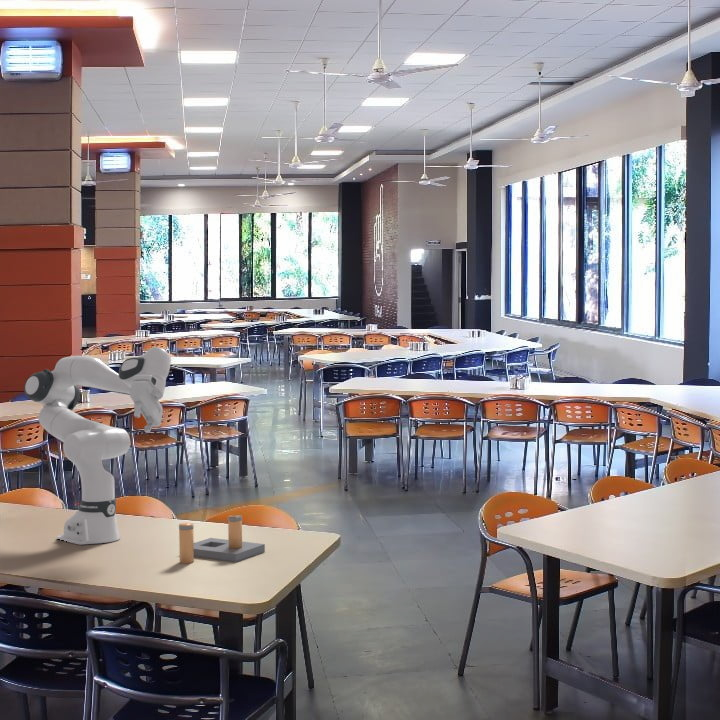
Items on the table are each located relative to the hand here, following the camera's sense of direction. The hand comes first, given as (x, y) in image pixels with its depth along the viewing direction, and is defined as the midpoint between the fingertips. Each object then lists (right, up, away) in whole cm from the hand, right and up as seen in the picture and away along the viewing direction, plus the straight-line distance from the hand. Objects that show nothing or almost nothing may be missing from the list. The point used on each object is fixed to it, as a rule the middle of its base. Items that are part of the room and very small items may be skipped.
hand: (141, 424), depth 331 cm
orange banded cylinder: (+18, -42, -17) cm, 49 cm away
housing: (+28, -42, -6) cm, 51 cm away
